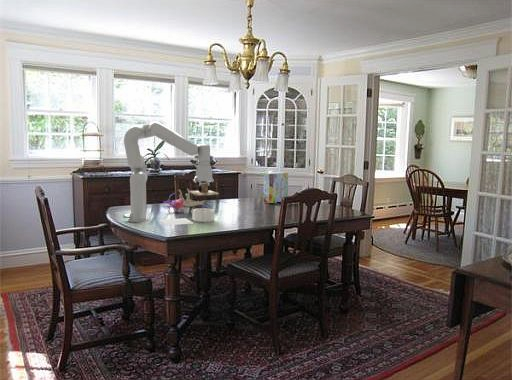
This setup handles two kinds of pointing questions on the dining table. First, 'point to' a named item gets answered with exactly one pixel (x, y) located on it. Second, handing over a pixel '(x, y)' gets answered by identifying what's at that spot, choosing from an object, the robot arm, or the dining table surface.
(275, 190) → the snack box
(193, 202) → the jawbone
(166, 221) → the grey mat
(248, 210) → the dining table surface
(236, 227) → the dining table surface
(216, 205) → the dining table surface
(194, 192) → the birch lid
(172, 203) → the heart model
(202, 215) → the ceramic bowl
